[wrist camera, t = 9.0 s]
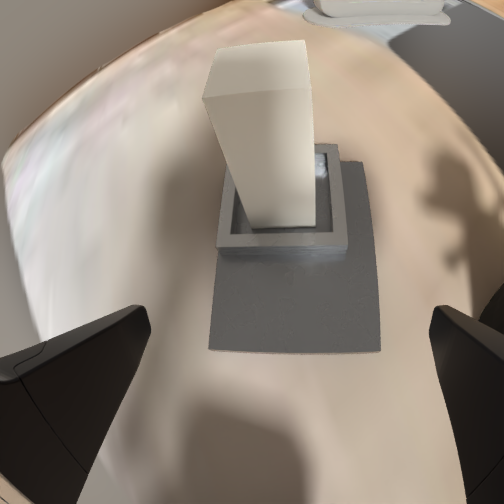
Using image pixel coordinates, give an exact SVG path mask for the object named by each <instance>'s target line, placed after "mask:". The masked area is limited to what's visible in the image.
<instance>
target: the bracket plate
mask: <svg viewBox="0 0 504 504" xmlns="http://www.w3.org/2000/svg"><path fill="white" fill-rule="evenodd" d="M314 154H315V227H300V228H257V229H251V226H250V223H249V221H248V218H247V215H246V213H245V210H244V207H243V205H242V202H241V199H240V197H239V194H238V191H237V189H236V186H235V184H234V181H233V178H232V176H231V173H230V170H229V168H228V165H227V164H226V171H225V179H224V186H223V193H222V201H221V208H220V216H219V224H218V232H217V240H216V248H217V250H218V259H217V268H216V277H215V286H214V296H213V305H212V315H211V326H210V336H209V347H208V349H209V350H212V351H223V352H239V353H261V354H362V353H378V352H380V351H381V343H380V311H379V293H378V279H377V266H376V255H375V246H374V236H373V228H372V220H371V212H370V205H369V198H368V192H367V185H366V179H365V173H364V168H363V162H340V159H339V152H338V145H337V144H324V145H314Z"/></svg>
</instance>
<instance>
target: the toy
mask: <svg viewBox="0 0 504 504" xmlns="http://www.w3.org/2000/svg"><path fill="white" fill-rule="evenodd" d="M479 322H481V323H483V324H484V325H486V326H488V327H490V328H492V329H494V330H496V331H497V332H499V333H501V334H503V335H504V284H503V285H502V286H501V287H500V289H499V290H498V291H497V292H496V293H495V295H494V296H493V298H492V299H491V300H490V302H489V303H488V304H487V306H486V307H485V309H484V310H483V312H482V314H481V316H480V319H479Z"/></svg>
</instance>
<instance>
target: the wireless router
mask: <svg viewBox="0 0 504 504" xmlns="http://www.w3.org/2000/svg"><path fill="white" fill-rule="evenodd" d="M313 1H314V4H315V6H316V7H313V8H310V9H308V10H306V11H305V12H304V13H303V16H304V20H306V21H307V22H308V23H311V24H313V25H317V26H322V27H329V28H347V27H357V26H370V25H390V24H420V25H421V24H422V25H449V24H450V21H451V19H450V18H449V17H448V16H447V15H446V14H444V13H443V12H441V10H442V8H443V5H444V1H445V0H313Z"/></svg>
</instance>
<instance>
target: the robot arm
mask: <svg viewBox="0 0 504 504" xmlns="http://www.w3.org/2000/svg"><path fill="white" fill-rule="evenodd" d="M150 334H151V326H150V322H149V319H148V315H147V311H146V308H145V307H144V306H142V305H131V306H128V307H126V308H124V309H121V310H119V311H116V312H114V313H112V314H109V315H107V316H104V317H102V318H100V319H97V320H95V321H92V322H90V323H88V324H85V325H83V326H80V327H78V328H76V329H73V330H71V331H68V332H66V333H64V334H61V335H59V336H56V337H54V338H51V339H49V340H48V341H44V342H42V343H39V344H37V345H34V346H32V347H29V348H27V349H24V350H21V351H19V352H16V353H13V354H10V355H7V356H4V357H1V358H0V504H76V503H77V501H78V498H79V496H80V493H81V491H82V489H83V486H84V484H85V481H86V479H87V477H88V474H89V472H90V470H91V467H92V465H93V463H94V461H95V458H96V456H97V454H98V452H99V449H100V447H101V445H102V443H103V441H104V438H105V436H106V434H107V432H108V430H109V428H110V425H111V423H112V421H113V419H114V417H115V415H116V413H117V410H118V408H119V406H120V404H121V402H122V400H123V398H124V396H125V394H126V392H127V390H128V388H129V386H130V384H131V382H132V379H133V377H134V375H135V373H136V371H137V369H138V366H139V364H140V361H141V358H142V355H143V353H144V350H145V347H146V345H147V342H148V339H149V337H150ZM429 338H430V342H431V347H432V351H433V356H434V361H435V366H436V371H437V375H438V379H439V383H440V386H441V389H442V393H443V396H444V399H445V403H446V407H447V410H448V414H449V418H450V421H451V425H452V429H453V433H454V438H455V442H456V446H457V451H458V455H459V460H460V465H461V470H462V476H463V482H464V488H465V494H466V498H467V499H466V502H467V504H504V335H503V334H501V333H499V332H497V331H496V330H494V329H492V328H490V327H488V326H486V325H484V324H483V323H481V322H479V321H477V320H475V319H473V318H471V317H469V316H468V315H466V314H464V313H462V312H460V311H458V310H456V309H454V308H452V307H450V306H448V305H440V306H436V307H435V308H434V311H433V315H432V320H431V324H430V328H429Z"/></svg>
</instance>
